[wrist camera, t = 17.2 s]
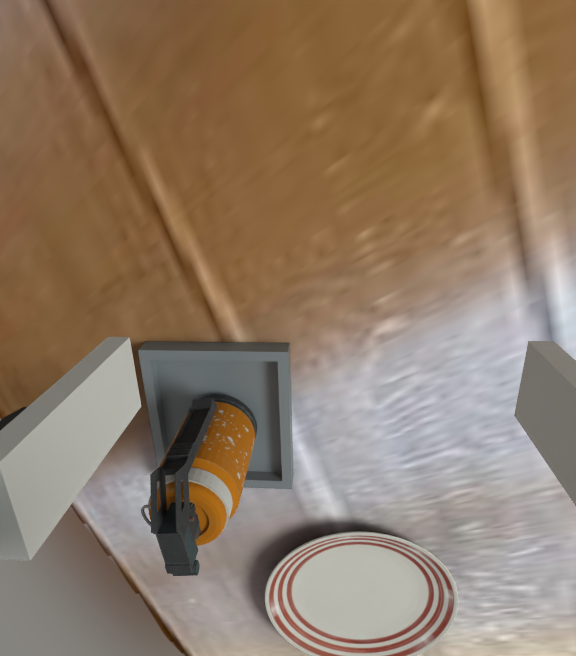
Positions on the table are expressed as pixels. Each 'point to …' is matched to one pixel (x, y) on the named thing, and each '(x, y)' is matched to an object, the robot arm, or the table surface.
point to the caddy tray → (227, 379)
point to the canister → (200, 479)
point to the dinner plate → (361, 596)
